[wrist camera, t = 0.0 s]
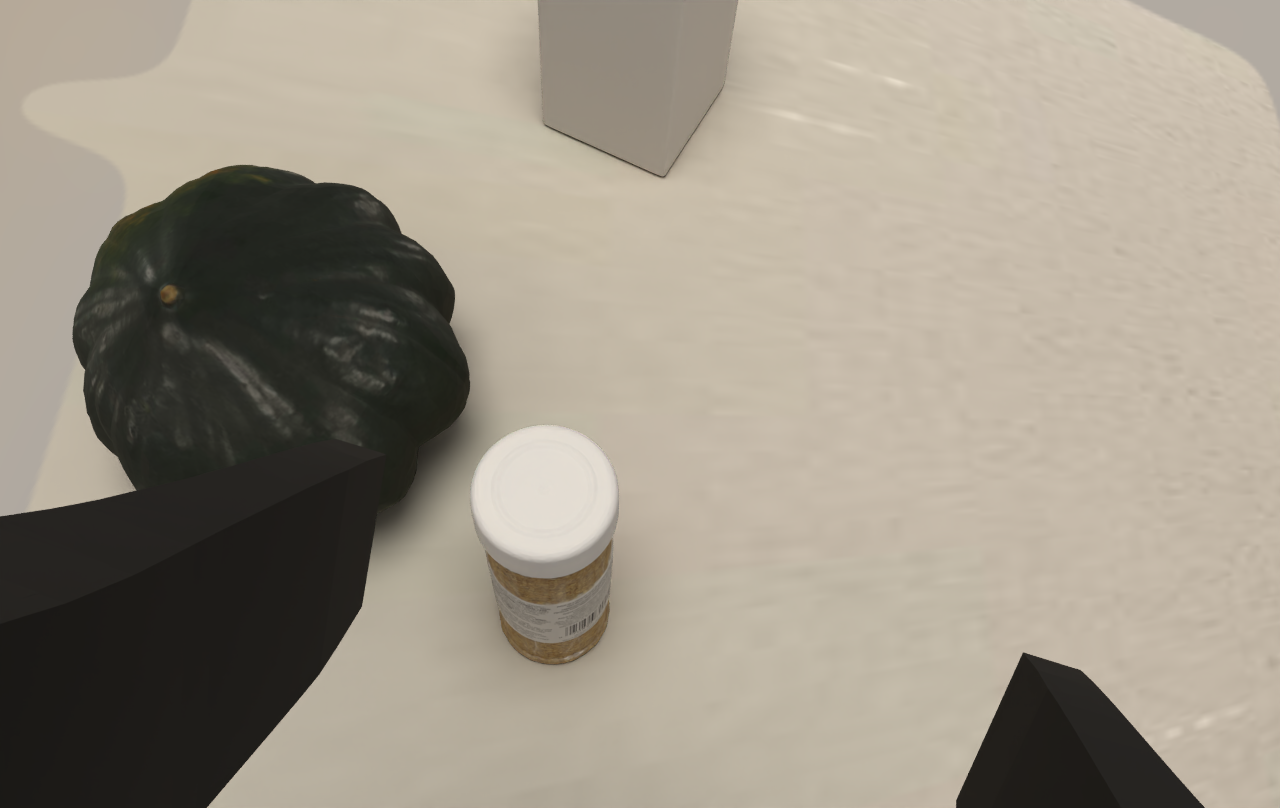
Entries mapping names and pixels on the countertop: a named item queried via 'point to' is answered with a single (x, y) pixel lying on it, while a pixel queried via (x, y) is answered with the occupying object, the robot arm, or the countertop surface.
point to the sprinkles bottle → (548, 538)
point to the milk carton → (633, 72)
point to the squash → (266, 330)
